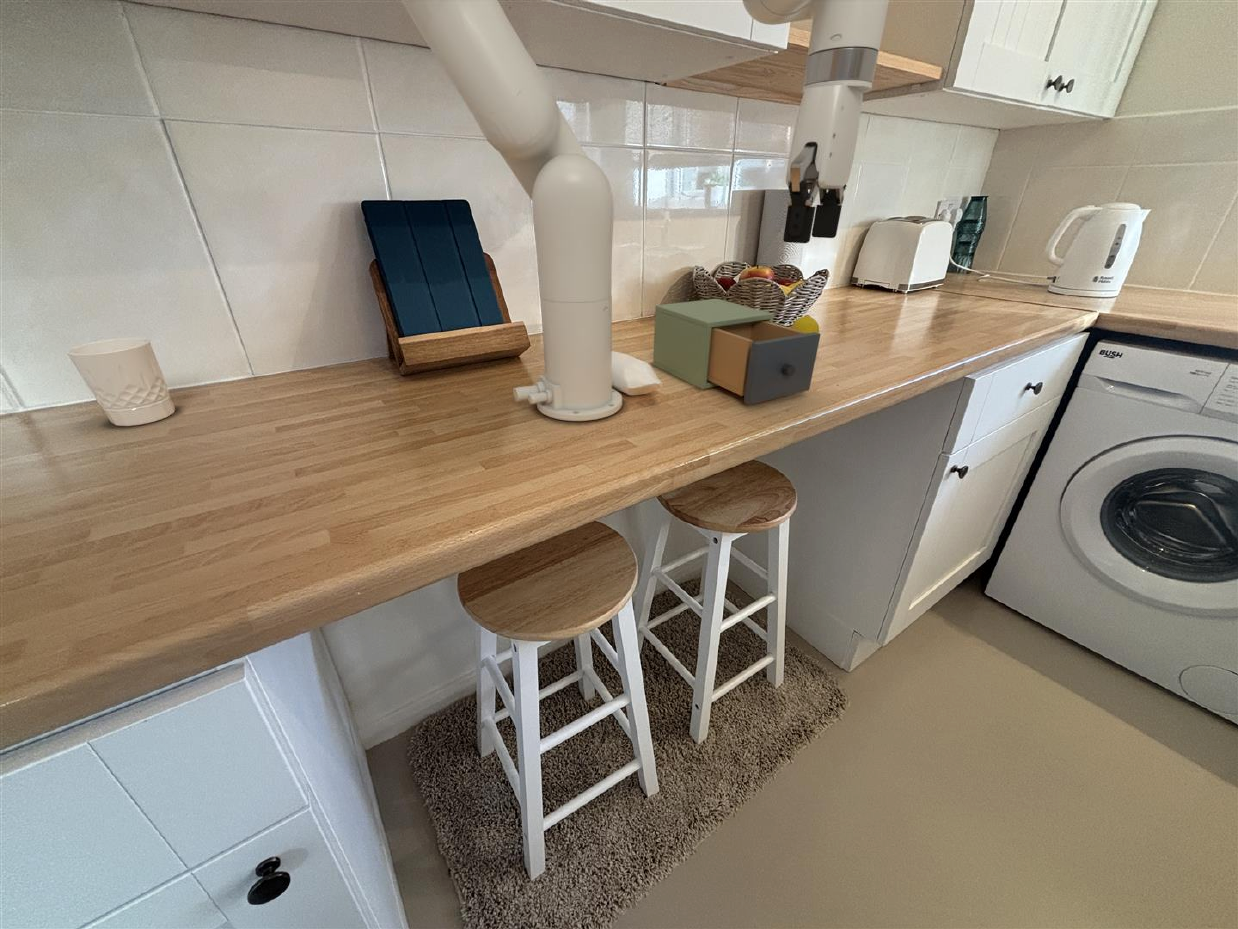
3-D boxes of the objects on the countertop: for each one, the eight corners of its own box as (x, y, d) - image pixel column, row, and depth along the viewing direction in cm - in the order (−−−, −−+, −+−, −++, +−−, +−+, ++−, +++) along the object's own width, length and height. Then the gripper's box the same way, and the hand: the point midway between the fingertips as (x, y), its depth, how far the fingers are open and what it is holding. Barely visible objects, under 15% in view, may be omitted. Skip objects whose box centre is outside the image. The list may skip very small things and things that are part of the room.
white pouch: (639, 410, 71) (642, 372, 69) (595, 386, 80) (596, 351, 77) (671, 402, 74) (674, 366, 72) (625, 380, 83) (627, 347, 80)
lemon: (810, 353, 98) (818, 312, 94) (817, 361, 93) (826, 318, 89) (782, 352, 98) (789, 311, 94) (787, 360, 93) (795, 317, 89)
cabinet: (764, 376, 85) (774, 313, 80) (701, 389, 79) (708, 322, 74) (711, 354, 96) (716, 298, 91) (652, 364, 90) (655, 305, 85)
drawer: (815, 392, 76) (827, 335, 72) (754, 407, 70) (764, 346, 66) (749, 366, 87) (756, 315, 83) (693, 377, 82) (697, 323, 77)
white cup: (189, 403, 73) (158, 335, 68) (168, 423, 66) (133, 350, 62) (122, 410, 70) (86, 340, 65) (94, 432, 64) (51, 357, 59)
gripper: (831, 90, 64) (806, 234, 73) (776, 68, 53) (754, 242, 61) (893, 83, 60) (859, 237, 69) (848, 57, 48) (814, 246, 57)
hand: (810, 239), depth 65 cm, fingers open, 9 cm apart
